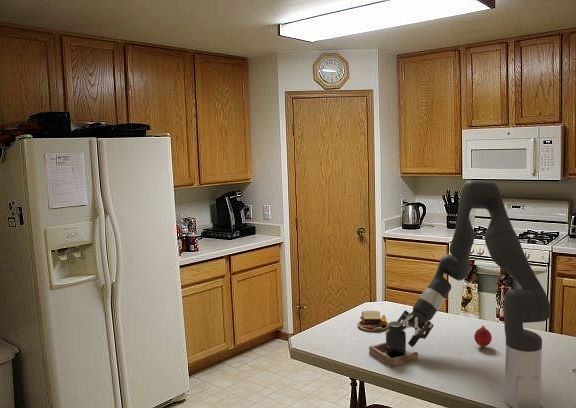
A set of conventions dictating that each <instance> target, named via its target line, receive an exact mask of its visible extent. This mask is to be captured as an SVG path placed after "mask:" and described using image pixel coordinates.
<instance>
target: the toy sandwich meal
mask: <svg viewBox="0 0 576 408" xmlns="http://www.w3.org/2000/svg"><path fill="white" fill-rule="evenodd" d="M380 313H381V311H377V310H363V311H361V315H360V321H358V322H357V327H358V328H359V329H361V330H362V331H364V332H371V333H375V332H376V333H377V332H383V331H385V330H387V329H389V323H390V322H388V321H387V318H386V315H385V314H382V316H381V314H380Z"/></svg>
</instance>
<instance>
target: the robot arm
mask: <svg viewBox="0 0 576 408" xmlns="http://www.w3.org/2000/svg"><path fill="white" fill-rule="evenodd" d="M472 209H475V210H476V209H478V210H479V209H482V210H487V212H488V213H489V216H490V222H489V224H488V227H487V228H486V231H485V235H484V243H485V246H486V248H487V251H488V253H489V255H490V258H491V259H492V261H493V262H494V263H495V265H497V266H498V267H499V268H500V269H502V270H503V271H504V272H506V273H507V274H508V275H510V276H511V277H512V278H513V279H514V280H515V281H516V282H517V284H518V285H519V286H520V288H512V289H508V290H507V291H506V292H505V294H504V297H503V317H504V318H503V319H504V335H505V360H504V361H505V366H504V367H505V369H504V379H505V380H504V401H505V404H506V405H508V407H511V408H541V400H542V397H541V396H542V364H543V363H542V361H543V360H542V357H543V339H542V336H541V335H540V334H538V333H536V332H534V331H533V330H532V331H531V330H529V329H526V328H524V325H523V324H527V323H540V322H546V321H548V320H549V319H550V317H551V315H552V310H551V309H552V308H551V303H550V301H549V298H548V295H547V293H546V291H545V289H544V288H543V286H542V284H541V282H540V281H539V279H538V277H537V276H536V274H535V272H534V271H533V269H532V267H531V264H530V263H529V261H528V259H527V256H526V254H525V251H524V249H523V247H522V244H521V242H520V240H519V238H518V235H517V233H516V231H515V230H514V226H513V225H512V222H511V220H510V217H509V215H508V213H507V210H506V206H505V203H504V201H503V198H502V194H501V191H500V189H499V187H498V185H497V184H496V183H495V182H494V181H491V180H466V182H464V184H463V186H462V188H461V193H460V196H459V203H458V208H457V215H456V222H455V223H456V224H455V229H454V233H453V236H452V239H451V241H450V242H451V243H450V245H449V253H450V254H444V255H443V256H442V257H441V258H440V261H439V263H438V266H437V270H436V272H435V275H434V276H433V279H432V280H431V281H430V283H429V284H428V286H427V287H426V289H425V290H424V291H423V292H422V293H421V294H420V296H419V297H418V299H417V301H416V302H415V303H414V305H413V306H412V311H411V312H409V311H408V310H403V312H402V314H401V315H400V317H399V318H398V319H397V320H396V322H401V323H402V324H403V331H405V330H406V329H410V328H413V329H414V334H413V335H412V336H411V338H410V339H409V341H408V342H407V344H408V345H409V346H410V348H411V347H412V348H413V347H414V346H416V344H417V343H418V342H419V340H420V339H422V340H425V339H426V338H427V337H428V335H429V334H430V333H431V331H432V329H433V328H434V326H435V325H434V324H433V323H432V322H431V321H432V319H433V317H434V316H435V315H436V313H437V312H438V310H439V309H440V307H441V306H442V304H443V303H444V300H445V299H446V298H447V296H448V294H449V293H450V291H451V290H452V285H451V283H450V282H449V281H448V280H447V279H446V278H445V277H444V275H447V276H449V278H452V279H454V280H456V281H459V282H460V281H463V280H465V279H466V278H467V276H468V275H469V272H470V255H471V251H472V248H473V245H474V243H475V242H474V241H475V231H474V227H473V226H472V223H471V219H470V214H471V211H472Z"/></svg>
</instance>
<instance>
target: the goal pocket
mask: <svg viewBox="0 0 576 408" xmlns="http://www.w3.org/2000/svg"><path fill="white" fill-rule="evenodd" d="M368 351H369V352H368V353H369V354H370V355H372V356H373V357H374V358H376V359H378V360H380V361H381V362H383V363H384V364H386V365H387V366H389V367H391V368H392V367H393V368H394V367H397V366H402V365H404V364H408V363H411V362H415V361H418V360H419V353H418V352H417V351H413V352H410V353H406V355H402V356H398V357H395V358H391V357H389V356H387V355H386V353H384V351H385V352H386V341H384V342H381V343H377V344H374V345H370V346H369V347H368Z"/></svg>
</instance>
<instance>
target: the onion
mask: <svg viewBox="0 0 576 408" xmlns="http://www.w3.org/2000/svg"><path fill="white" fill-rule="evenodd" d="M473 338H474V341H475V342H476V344H477V345H478V346H480V347H481V348H485V347H487V346H489V345H490V343H491V342H492V340H493V339H492V338H493V336H492V334H491V332H490V331H489V329H487V328H486V327H485V325H483V324H482V325H481V327H479V329H477V330H476V331H475V333H474V336H473Z"/></svg>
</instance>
